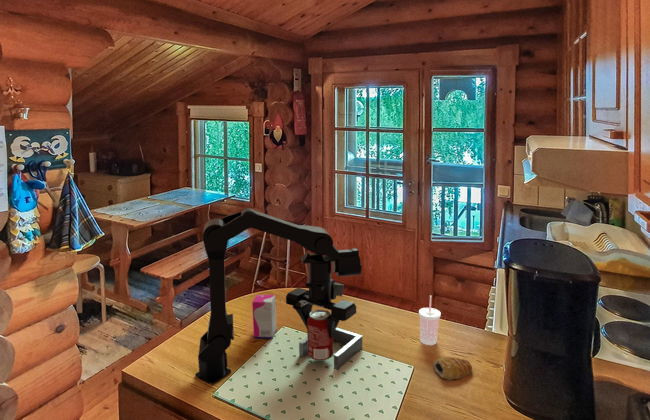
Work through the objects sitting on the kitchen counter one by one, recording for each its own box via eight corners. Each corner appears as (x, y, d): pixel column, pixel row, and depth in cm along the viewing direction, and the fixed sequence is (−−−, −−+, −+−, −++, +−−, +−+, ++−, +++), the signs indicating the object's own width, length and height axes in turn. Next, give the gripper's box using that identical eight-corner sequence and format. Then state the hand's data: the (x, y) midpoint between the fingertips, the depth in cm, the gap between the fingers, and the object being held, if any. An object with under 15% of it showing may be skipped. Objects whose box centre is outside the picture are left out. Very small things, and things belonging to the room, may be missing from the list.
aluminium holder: (337, 370, 113) (337, 356, 112) (299, 355, 119) (299, 342, 118) (362, 348, 123) (362, 335, 122) (325, 336, 130) (325, 323, 129)
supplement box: (276, 329, 134) (275, 294, 131) (272, 339, 128) (271, 302, 126) (258, 328, 134) (256, 293, 132) (253, 338, 129) (251, 302, 126)
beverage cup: (441, 338, 128) (444, 293, 125) (436, 348, 123) (439, 302, 120) (420, 333, 131) (422, 290, 128) (414, 343, 126) (417, 297, 122)
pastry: (462, 362, 116) (463, 349, 116) (478, 377, 110) (479, 363, 109) (430, 368, 114) (431, 354, 113) (444, 383, 108) (445, 369, 107)
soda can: (330, 364, 113) (330, 321, 110) (305, 361, 114) (304, 318, 111) (335, 350, 119) (335, 309, 116) (311, 347, 120) (310, 307, 118)
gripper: (367, 275, 113) (366, 330, 116) (309, 261, 123) (309, 313, 127) (344, 289, 104) (344, 349, 107) (283, 273, 114) (285, 328, 118)
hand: (320, 333), depth 115 cm, fingers closed on soda can, 7 cm apart
